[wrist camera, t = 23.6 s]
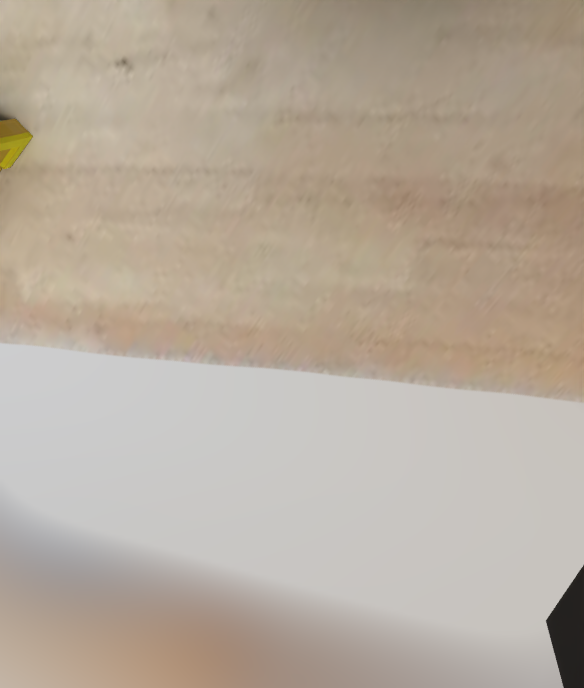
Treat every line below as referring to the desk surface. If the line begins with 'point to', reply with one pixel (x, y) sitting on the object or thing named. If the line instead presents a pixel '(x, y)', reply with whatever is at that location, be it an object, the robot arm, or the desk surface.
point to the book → (12, 141)
